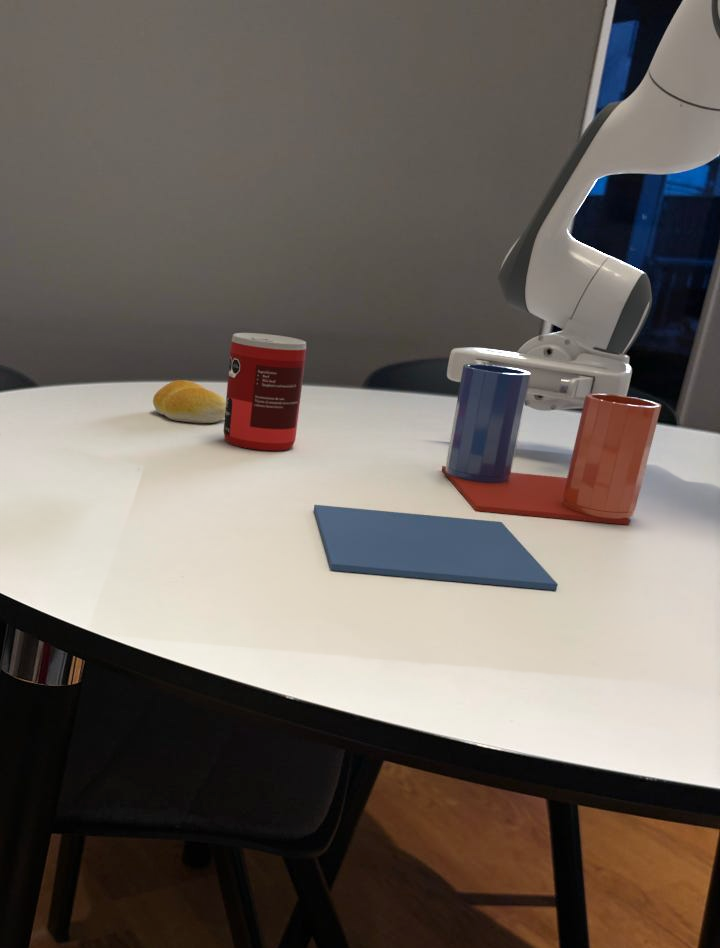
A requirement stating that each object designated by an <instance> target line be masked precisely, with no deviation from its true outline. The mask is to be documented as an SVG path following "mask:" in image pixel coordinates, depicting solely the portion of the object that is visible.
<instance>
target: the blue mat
mask: <svg viewBox="0 0 720 948" xmlns="http://www.w3.org/2000/svg"><path fill="white" fill-rule="evenodd" d="M313 512H314V515H315V519H316V522H317V526H318V529H319V533H320V536H321V539H322V544H323V547H324V551H325V553H326V557H327V560H328V563H329V567H330V570H331V571H334V572H344V573H345V572H346V573H356V574H357V573H358V574H369V575H380V576H389V577H391V576H392V577H402V578H403V577H404V578H413V579H424V580H435V581H436V580H437V581H447V582H456V583H457V582H459V583H469V584H481V585H491V586H501V587H502V586H503V587H512V588H524V589H535V590H545V591H546V590H547V591H557V589H558V583H557V581H555V579H554V578H553V577H552V576H551V575H550V574H549V573H548V572H547V570H545V568H544V567H543V566H542V565H541V564H540V563H539V562H538V561H537V560H536V558H535V557H534V556H533V555H532V554H531V553H530V552H529V551H528V550H527V548H526V547H525V546H524V545H523V544H522V543H521V542H520V541H519V540H518V538H516V536H515V535H514V534H513V533H512V532H511V531H510V530H509V529H508V527H506V525H505V524H504V523H503V522H502V521H495V520H484V519H483V520H482V519H475V518H474V519H473V518H465V517H464V518H463V517H452V516H451V517H450V516H443V515H430V514H429V515H428V514H421V513H409V512H399V511H387V510H377V509H366V508H356V507H354V508H353V507H346V506H345V507H343V506H335V505H334V506H333V505H322V504H314V506H313Z"/></svg>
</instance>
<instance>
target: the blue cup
mask: <svg viewBox="0 0 720 948" xmlns="http://www.w3.org/2000/svg"><path fill="white" fill-rule="evenodd" d="M530 377H531V373H529V372H527V371H523V370H520V369H514V368H509V367H502V366H495V365H485V364H465V365H464V366H463V371H462V376H461V382H459V389H458V393H457V394H458V395H457V400H456V405H455V409H454V416H453V422H452V428H451V433H450V439H449V446H448V451H447V456H446V462H445V466H446V472H447V473H448V474H450V475H452V476H455V477H458V478H461V479H465V480H470V481H476V482H484V483H504V482H507V481H509V479H510V474H511V472H513V471H512V470H513V465H514V461H515V455H516V451H517V447H518V441H519V435H520V430H521V427H522V426H521V425H522V421H523V415H524V411H525V402H526V397H527V392H528V387H529V382H530Z"/></svg>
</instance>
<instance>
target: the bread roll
mask: <svg viewBox="0 0 720 948" xmlns="http://www.w3.org/2000/svg"><path fill="white" fill-rule="evenodd" d="M152 404H153V407H154V409H155V411H156V412H157V413H158V414H160V415H162V416H165V417H166V418H167V419H169V420H172V421H177V422H183V423H191V424H214V423H218V422H220V421H222V420H225V408H226V399H225V398H224V397H223V396H222V395H220V394H219V393H216V392H215V391H212V390H210V389H207V388H205V386H203V385H200V384H199V383H196V382H194V381H192V380H191V381H190V380H185V379H179V380H174V381H170V382H169V383H166V385H164V386H163V387H161V388H159V390H157V392H155V394H154V395H153V399H152Z"/></svg>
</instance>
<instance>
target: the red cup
mask: <svg viewBox="0 0 720 948" xmlns="http://www.w3.org/2000/svg"><path fill="white" fill-rule="evenodd" d="M661 408H662V404H661V403H658V402H657V401H656V402H655V401H652V400H648V399H644V398H639V397H633V396H621V395H612V394H598V393H592V394H587V395H586V396H585V401H584V405H583V409H581V415H580V419H579V424H578V428H577V432H576V436H575V442H574V446H573V451H572V455H571V459H570V463H569V468H568V473H567V476H566V478H567V481H566V486H565V490H564V495H563V501H562V504H563V506H565V507H566V508H568V509H570V510H573V511H576V512H579V513H582V514H586V515H591V516H596V517H603V518H612V519H625V518H628V519H630V518H633V517H634V515H635V511H636V507H637V504H638V500H639V495H640V491H641V488H642V483H643V480H644V475H645V473H646V467H647V464H648V461H649V456H650V452H651V448H652V445H653V441H654V435H655V432H656V428H657V424H658V420H659V416H660V413H661V410H662V409H661Z"/></svg>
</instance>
